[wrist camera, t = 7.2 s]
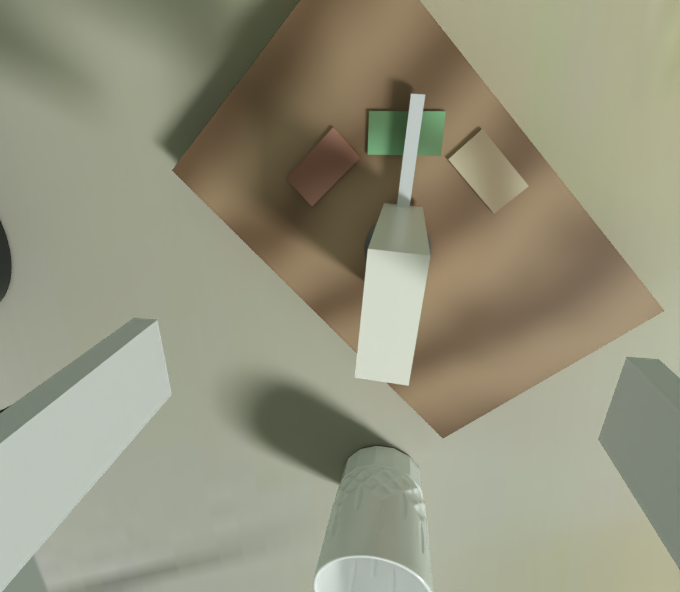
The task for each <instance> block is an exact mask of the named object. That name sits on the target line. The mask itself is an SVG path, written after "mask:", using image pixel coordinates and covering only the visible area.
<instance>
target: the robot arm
mask: <svg viewBox="0 0 680 592" xmlns="http://www.w3.org/2000/svg"><path fill="white" fill-rule="evenodd" d="M10 279H11V256H10V250H9V246H8V242H7V239H6V235H5V233H4V230H3V227H2V225H1V223H0V302H1V300H2V299H3V298H4V296H5V294H6V292H7V290H8V287H9V284H10ZM171 395H172V393H171V388H170V383H169V378H168V372H167V367H166V362H165V357H164V352H163V347H162V342H161V337H160V331H159V326H158V321H157V320H153V319H140V318H133V319H132V320H130V321H129V322H128V323H126V324H125V325H123V326H122V327H121V328H119V329H118V330H116V331H115V332H114V333H112V334H111V335H109V336H108V337H107V338H105V339H104V340H102V341H101V342H100V343H98V344H97V345H95V346H94V347H93V348H91V349H90V350H88V351H87V352H86V353H84V354H83V355H81V356H80V357H79V358H77V359H76V360H74V361H73V362H72V363H70V364H69V365H67V366H66V367H65V368H63V369H62V370H60V371H59V372H57V373H56V374H55V375H53V376H52V377H50V378H49V379H48V380H46V381H45V382H43V383H42V384H41V385H39V386H38V387H36V388H35V389H34V390H32V391H31V392H29V393H28V394H27V395H25V396H24V397H22V398H21V399H20V400H18V401H17V402H15V403H14V404H13V405H11V406H9V407H7V408H5V409H3V410H0V592H2V591H3V589H4V588H5V587H6V586H7V585H8V584H9V583H10V581H11V580H12V579H13V578H14V577H15V576H16V574H17V573H18V572H19V571H20V570H21V569H22V567H23V566H24V565H25V564H26V563H27V562H28V561H29V559H30V558H31V557H32V556H33V555H34V554H35V552H36V551H37V550H38V549H39V548H40V547H41V545H42V544H43V543H44V542H45V541H46V540H47V539H48V537H49V536H50V535H51V534H52V533H53V532H54V530H55V529H56V528H57V527H58V526H59V525H60V523H61V522H62V521H63V520H64V519H65V518H66V516H67V515H68V514H69V513H70V512H71V511H72V510H73V508H74V507H75V506H76V505H77V504H78V503H79V501H80V500H81V499H82V498H83V497H84V496H85V494H86V493H87V492H88V491H89V490H90V489H91V488H92V486H93V485H94V484H95V483H96V482H97V481H98V479H99V478H100V477H101V476H102V475H103V474H104V472H105V471H106V470H107V469H108V468H109V467H110V465H111V464H112V463H113V462H114V461H115V460H116V459H117V457H118V456H119V455H120V454H121V453H122V452H123V450H124V449H125V448H126V447H127V446H128V445H129V443H130V442H131V441H132V440H133V439H134V438H135V437H136V435H137V434H138V433H139V432H140V431H141V430H142V428H143V427H144V426H145V425H146V424H147V423H148V421H149V420H150V419H151V418H152V417H153V416H154V414H155V413H156V412H157V411H158V410H159V409H160V408H161V406H162V405H163V404H164V403H165V402H166V401H167V399H168V398H169V397H170V396H171ZM598 439H599V441H600V443H601V444H602V446H603V447H604V449H605V451H606V452H607V454H608V455H609V457H610V459H611V460H612V462H613V463H614V465H615V467H616V468H617V470H618V471H619V473H620V475H621V476H622V478H623V480H624V481H625V483H626V484H627V486H628V488H629V489H630V491H631V492H632V494H633V496H634V497H635V499H636V500H637V502H638V504H639V505H640V507H641V508H642V510H643V512H644V513H645V515H646V516H647V518H648V520H649V521H650V523H651V524H652V526H653V528H654V529H655V531H656V532H657V534H658V536H659V537H660V539H661V540H662V542H663V544H664V545H665V547H666V548H667V550H668V552H669V553H670V555H671V557H672V558H673V560H674V561H675V563H676V565H677V566H678V568H679V569H680V378H679V377H678V376H677V375H675V374H674V373H673V372H672V371H671V370H670V369H669V368H668V367H667V366H666V365H665V364H663V363H662V362H661V361H660V360H659V359H648V358H635V357H626V360H625V363H624V366H623V369H622V372H621V375H620V378H619V380H618V383H617V386H616V389H615V392H614V395H613V398H612V401H611V404H610V407H609V409H608V412H607V415H606V418H605V421H604V424H603V427H602V430H601V433H600V436H599V438H598Z"/></svg>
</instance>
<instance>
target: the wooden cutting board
mask: <svg viewBox="0 0 680 592" xmlns="http://www.w3.org/2000/svg"><path fill="white" fill-rule="evenodd" d="M411 94H424V95H425V100H424V107H423V115H422V122H421V129H420V136H419V143H418V151H417V158H416V165H415V172H414V179H413V186H412V194H411V201H410V206H418V207H423V211H424V218H425V224H426V230H427V237H428V243H429V249H430V262H429V268H428V274H427V280H426V286H425V291H424V297H423V303H422V309H421V315H420V321H419V327H418V333H417V339H416V345H415V351H414V357H413V363H412V369H411V375H410V380H409V386H407V385H400V384H394V383H387V382H386V383H387V384H388V385H389V386H390V387H391V388H393V389H394V390H395V391H396V392H397V393H398V394H399V395H400V396H401V397H402V398H403V399H404V400H405V401H406V402H407V403H408V404H409V405H410V406H411V407H412V408H413V409H414V410H415V411H416V412H417V413H418V414H419V415H420V416H421V417H422V418H423V419H424V420H425V421H426V422H427V423H428V424H429V425H430V426H431V427H432V428H433V429H434V430H435V431H436V432H437V433H438V434H439V435H440V436H441V437H442V438H445V437H446V436H448V435H450V434H452V433H453V432H455V431H457V430H458V429H460V428H462V427H464V426H465V425H467V424H469V423H471V422H472V421H474V420H476V419H478V418H479V417H481V416H483V415H484V414H486V413H488V412H490V411H491V410H493V409H495V408H497V407H498V406H500V405H502V404H504V403H505V402H507V401H509V400H510V399H512V398H514V397H516V396H517V395H519V394H521V393H523V392H524V391H526V390H528V389H530V388H531V387H533V386H535V385H536V384H538V383H540V382H542V381H543V380H545V379H547V378H549V377H550V376H552V375H554V374H556V373H557V372H559V371H561V370H562V369H564V368H566V367H568V366H569V365H571V364H573V363H575V362H576V361H578V360H580V359H582V358H583V357H585V356H587V355H588V354H590V353H592V352H594V351H595V350H597V349H599V348H601V347H602V346H604V345H606V344H608V343H609V342H611V341H613V340H614V339H616V338H618V337H620V336H621V335H623V334H625V333H627V332H628V331H630V330H632V329H634V328H635V327H637V326H639V325H640V324H642V323H644V322H646V321H647V320H649V319H651V318H653V317H654V316H656V315H658V314H660V313H661V312H663V311H664V310H663V308H662V307H661V306H660V305H659V303H658V302H657V301H656V299H655V298H654V297H653V296H652V294H651V293H650V292H649V291H648V289H647V288H646V287H645V286H644V284H643V283H642V282H641V280H640V279H639V278H638V277H637V275H636V274H635V273H634V272H633V270H632V269H631V268H630V267H629V265H628V264H627V263H626V261H625V260H624V259H623V258H622V256H621V255H620V254H619V253H618V251H617V250H616V249H615V248H614V246H613V245H612V244H611V242H610V241H609V240H608V239H607V237H606V236H605V235H604V234H603V232H602V231H601V230H600V229H599V227H598V226H597V225H596V223H595V222H594V221H593V220H592V218H591V217H590V216H589V215H588V213H587V212H586V211H585V210H584V208H583V207H582V206H581V204H580V203H579V202H578V201H577V199H576V198H575V197H574V196H573V194H572V193H571V192H570V191H569V189H568V188H567V187H566V185H565V184H564V183H563V182H562V180H561V179H560V178H559V177H558V175H557V174H556V173H555V172H554V170H553V169H552V168H551V166H550V165H549V164H548V163H547V161H546V160H545V159H544V158H543V156H542V155H541V154H540V153H539V151H538V150H537V149H536V147H535V146H534V145H533V144H532V142H531V141H530V140H529V139H528V137H527V136H526V135H525V134H524V132H523V131H522V130H521V128H520V127H519V126H518V125H517V123H516V122H515V121H514V120H513V118H512V117H511V116H510V115H509V113H508V112H507V111H506V109H505V108H504V107H503V106H502V104H501V103H500V102H499V101H498V99H497V98H496V97H495V95H494V94H493V93H492V92H491V90H490V89H489V88H488V87H487V85H486V84H485V83H484V82H483V80H482V79H481V78H480V76H479V75H478V74H477V73H476V71H475V70H474V69H473V68H472V66H471V65H470V64H469V63H468V61H467V60H466V59H465V57H464V56H463V55H462V54H461V52H460V51H459V50H458V49H457V47H456V46H455V45H454V44H453V42H452V41H451V40H450V38H449V37H448V36H447V35H446V33H445V32H444V31H443V30H442V28H441V27H440V26H439V25H438V23H437V22H436V21H435V19H434V18H433V17H432V16H431V14H430V13H429V12H428V11H427V9H426V8H425V7H424V6H423V4H422V3H421V2H420V0H300V1H299V3H298V4H297V5H296V7H295V8H294V9H293V11H292V12H291V13H290V15H289V16H288V17H287V18H286V20H285V21H284V22H283V24H282V25H281V26H280V28H279V29H278V30H277V32H276V33H275V34H274V36H273V37H272V38H271V40H270V41H269V42H268V44H267V45H266V46H265V48H264V49H263V50H262V52H261V53H260V54H259V56H258V57H257V58H256V60H255V61H254V62H253V64H252V65H251V66H250V68H249V69H248V70H247V72H246V73H245V74H244V76H243V77H242V78H241V80H240V81H239V82H238V83H237V85H236V86H235V87H234V89H233V90H232V91H231V93H230V94H229V95H228V97H227V98H226V99H225V101H224V102H223V103H222V105H221V106H220V107H219V109H218V110H217V111H216V113H215V114H214V115H213V117H212V118H211V119H210V121H209V122H208V123H207V125H206V126H205V127H204V129H203V130H202V131H201V133H200V134H199V135H198V137H197V138H196V139H195V141H194V142H193V143H192V145H191V146H190V147H189V149H188V150H187V151H186V152H185V154H184V155H183V156H182V158H181V159H180V160H179V162H178V163H177V164H176V166H175V167H174V168H173V170H172V171H173V172H174V173H175V174H176V175H177V176H178V177H179V178H180V179H181V180H182V181H183V182H184V183H185V184H186V185H187V186H188V187H189V188H190V189H191V190H192V191H193V192H194V193H195V194H196V195H197V196H198V197H200V198H201V199H202V200H203V201H204V202H205V203H206V204H207V205H208V206H209V207H210V208H211V209H212V210H213V211H214V212H215V213H216V214H217V215H218V216H219V217H220V218H221V219H222V220H223V221H224V222H225V223H226V224H227V225H228V226H229V227H230V228H231V229H232V230H233V231H234V232H235V233H236V234H237V235H238V236H239V237H240V238H241V239H242V240H243V241H244V242H245V243H246V244H247V245H248V246H249V247H250V248H251V249H252V250H253V251H254V252H255V253H256V254H257V255H258V256H259V257H260V258H261V259H262V260H263V261H264V262H265V263H266V264H267V265H268V266H269V267H270V268H271V269H272V270H273V271H274V272H275V273H276V274H277V275H278V276H279V277H280V278H281V279H282V280H283V281H284V282H285V283H286V284H287V285H288V286H289V287H290V288H291V289H292V290H293V291H294V292H295V293H297V294H298V295H299V296H300V297H301V298H302V299H303V300H304V301H305V302H306V303H307V304H308V305H309V306H310V307H311V308H312V309H313V310H314V311H315V312H316V313H317V314H318V315H319V316H320V317H321V318H322V319H323V320H324V321H325V322H326V323H327V324H328V325H329V326H330V327H331V328H332V329H333V330H334V331H335V332H336V333H337V334H338V335H339V336H340V337H341V338H342V339H343V340H344V341H345V342H346V343H347V344H348V345H349V346H350V347H351V348H352V349H353V350H354V351H355V352H356V353H357V351H358V341H359V331H360V321H361V311H362V301H363V292H364V282H365V272H366V262H367V252H368V247H369V244H370V241H371V238H372V236H373V233H374V230H375V227H376V224H377V222H378V219H379V216H380V213H381V210H382V208H383V205H384V203H388V204H397V201H398V193H399V185H400V177H401V169H402V161H403V153H404V145H405V138H406V130H407V122H408V114H409V106H410V98H411Z"/></svg>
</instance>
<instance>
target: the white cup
mask: <svg viewBox="0 0 680 592" xmlns="http://www.w3.org/2000/svg"><path fill="white" fill-rule="evenodd" d="M313 589H314V592H433V581H432V570H431V559H430V548H429V537H428V526H427V518H426V512H425V502H424V500H423V495H422V483H421V476H420V470H419V468H418V467H417V465H416V464H415V463H414V462H413V460H412V459H411V458H410V457H409V456H407V455H406V454H404V453H402V452H400V451H398V450H396V449H394V448H389V447H382V446H372V447H368V448H363V449H360V450H358V451H357V452H356V453H354V454H353V455H352V456H350V457H349V458H348V460H347V463H346V466H345V468H344V471H343V475H342V479H341V483H340V486H339V487H338V490H337V493H336V497H335V501H334V503H333V507H332V511H331V514H330V518H329V522H328V526H327V530H326V534H325V538H324V541H323V545H322V549H321V553H320V557H319V561H318V564H317V568H316V572H315V576H314V580H313Z"/></svg>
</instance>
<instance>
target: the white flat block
mask: <svg viewBox="0 0 680 592" xmlns="http://www.w3.org/2000/svg"><path fill="white" fill-rule="evenodd" d="M424 100H425V95H424V94H411V98H410V106H409V114H408V122H407V130H406V138H405V145H404V153H403V161H402V169H401V177H400V185H399V193H398V201H397V204H388V203H384V205H383V208H382V210H381V213H380V216H379V219H378V222H377V224H376V227H375V230H374V233H373V236H372V238H371V241H370V244H369V247H368V252H367V262H366V272H365V282H364V292H363V301H362V311H361V321H360V331H359V341H358V351H357V360H356V370H355V378H361V379H368V380H374V381H381V382H387V383H394V384H400V385H407V386H409V380H410V375H411V369H412V363H413V357H414V351H415V345H416V339H417V333H418V327H419V321H420V315H421V309H422V303H423V297H424V291H425V286H426V280H427V274H428V268H429V262H430V249H429V243H428V237H427V230H426V224H425V218H424V211H423V207H418V206H410V201H411V194H412V186H413V179H414V172H415V165H416V158H417V151H418V143H419V136H420V129H421V122H422V115H423V107H424Z"/></svg>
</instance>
